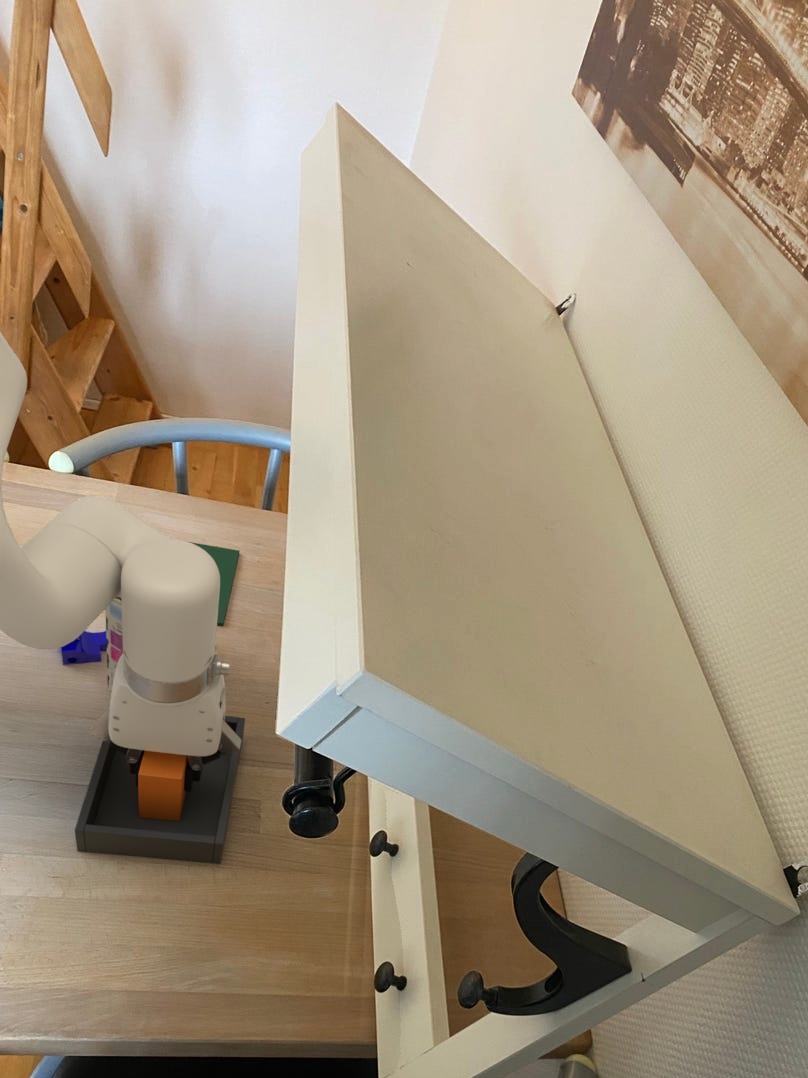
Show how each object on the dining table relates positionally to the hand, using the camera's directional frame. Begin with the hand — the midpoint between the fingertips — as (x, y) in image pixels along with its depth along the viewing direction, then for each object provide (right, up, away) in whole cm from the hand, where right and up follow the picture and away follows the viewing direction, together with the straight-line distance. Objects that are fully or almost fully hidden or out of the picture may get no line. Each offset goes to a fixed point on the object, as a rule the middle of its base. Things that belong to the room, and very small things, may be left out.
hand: (166, 776), depth 88 cm
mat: (-9, +22, +22) cm, 33 cm away
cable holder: (-12, +13, +12) cm, 21 cm away
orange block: (-1, -2, +2) cm, 3 cm away
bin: (-1, -2, +2) cm, 3 cm away
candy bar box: (-5, +10, +12) cm, 17 cm away
